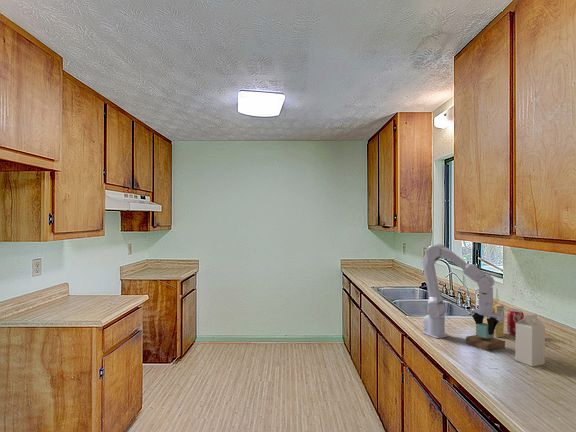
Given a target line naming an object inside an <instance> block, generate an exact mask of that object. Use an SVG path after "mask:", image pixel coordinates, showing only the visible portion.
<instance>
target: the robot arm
mask: <svg viewBox="0 0 576 432" xmlns="http://www.w3.org/2000/svg"><path fill="white" fill-rule="evenodd" d="M424 252H425V253H424V256H423V259H422V267H423V273H424V279H425V283H426V288H427V295H428V300H427V310H426V312H427V314H426V315H425V316H424V318H423V331H422V332H421V333H423V334H424V335H427V336H429V337H432V338H435V339H442V338H447V337H449V334H446V333H445V331H446V330H445V325H446V321H445V319H446V316H445V313H446V312H447V306H446V304H445V302H444V299H443V298H442V296H441V292H440V288H439V283H438V278H437V272H436V268H435V264H436V263H437V261H438V260H439V259H444V260H446V259H447V260H449V261H450V262H452V263H453V264H454V265H456V266H457V267H458V268H460V269H462V273H463V274H464V275H465V276H466V277H468V278H469V279H470V280H472V281H473V282H475V283H476V284H477V286H478V308H470V309H469V313H470V314H472V318H473V320H474V322H475V325H476V324H480V323H484V318H485V316H486V317H489V319H487V322H488V332H489V335H492V334H493V333H494V330H495V327H496V325H497V323H498V322H499V321H500V320H502V316H501V315H498V314H496V313H493V302H494V287H493V286H494V285H495V279H494V277H493V276H492V275H491V274H487V272H486V271H483V270H482V269H480V268H478V265H477V264H473V263H467V262H466V261H465V260H463V259H462V258H461V257H460V256H459V255H457V254H456V253H455V252H453V251H452V250H451V249H450V248H448V247H446V246H445V245H443V244H442V243H438V244H432V245H429V246H428V247H427V248H426V249H425V251H424Z"/></svg>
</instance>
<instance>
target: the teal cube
mask: <svg viewBox="0 0 576 432" xmlns="http://www.w3.org/2000/svg"><path fill="white" fill-rule="evenodd" d="M475 329H476V330H475V335H477V336H480V337H483V338H491V337H494V338H495V336H494V333H493V334H492V335H489V332H488V324H486V323H485V322H483V323H480V324H476V323H475Z"/></svg>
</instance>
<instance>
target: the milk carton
mask: <svg viewBox="0 0 576 432" xmlns="http://www.w3.org/2000/svg"><path fill="white" fill-rule="evenodd" d="M545 344H546V326H545V325H544V323H543V322H542V321H541V320H540V319H539V318H538V315H537V313H534V314H525V315H524V318H523V319H522V320H520V321H519V322H517V323H516V336H515V347H514V348H515V349H514V350H515V352H514V353H515V360H514V361H517V362H520V363H522V364H524V365H527V366H530V367H537V366H543V365H545V361H546V360H545V359H546V357H545V356H546V355H545V353H546V352H545V351H546V345H545Z"/></svg>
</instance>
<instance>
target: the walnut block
mask: <svg viewBox="0 0 576 432" xmlns="http://www.w3.org/2000/svg"><path fill="white" fill-rule="evenodd" d="M465 338H466V339H465V344H466V345H469V346H472V347H475V348H477V349H479V350H483V351H485V352H492V351H497V350H498V351H499V350H501V349H505V348H506V341H505V340H503V339H500V338H498V337H495V336H494V337H491V338H483V337H480V336H477V335H476V334H474V335H469V336H465Z"/></svg>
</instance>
